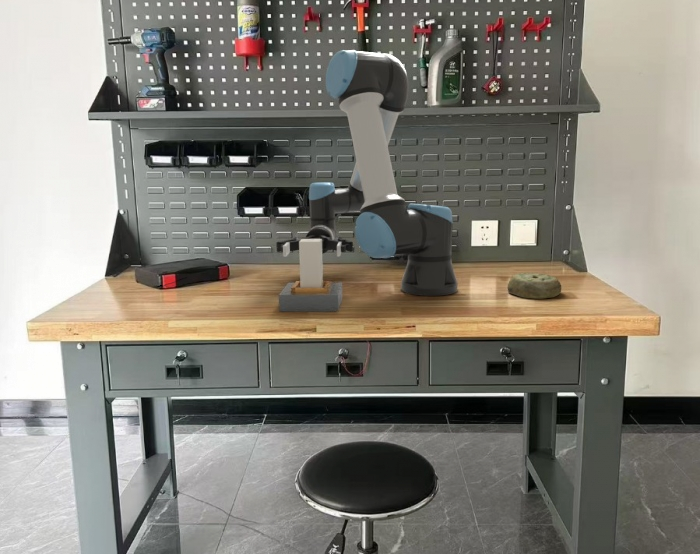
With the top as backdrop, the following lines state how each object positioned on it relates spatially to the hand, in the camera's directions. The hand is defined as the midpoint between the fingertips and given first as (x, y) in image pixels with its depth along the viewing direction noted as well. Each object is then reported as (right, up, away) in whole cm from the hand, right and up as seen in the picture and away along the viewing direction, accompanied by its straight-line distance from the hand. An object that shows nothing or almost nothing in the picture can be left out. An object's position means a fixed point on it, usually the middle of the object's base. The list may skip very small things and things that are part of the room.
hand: (311, 251), depth 150 cm
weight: (+58, -11, +7) cm, 59 cm away
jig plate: (0, -13, -2) cm, 13 cm away
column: (0, -9, -2) cm, 10 cm away
